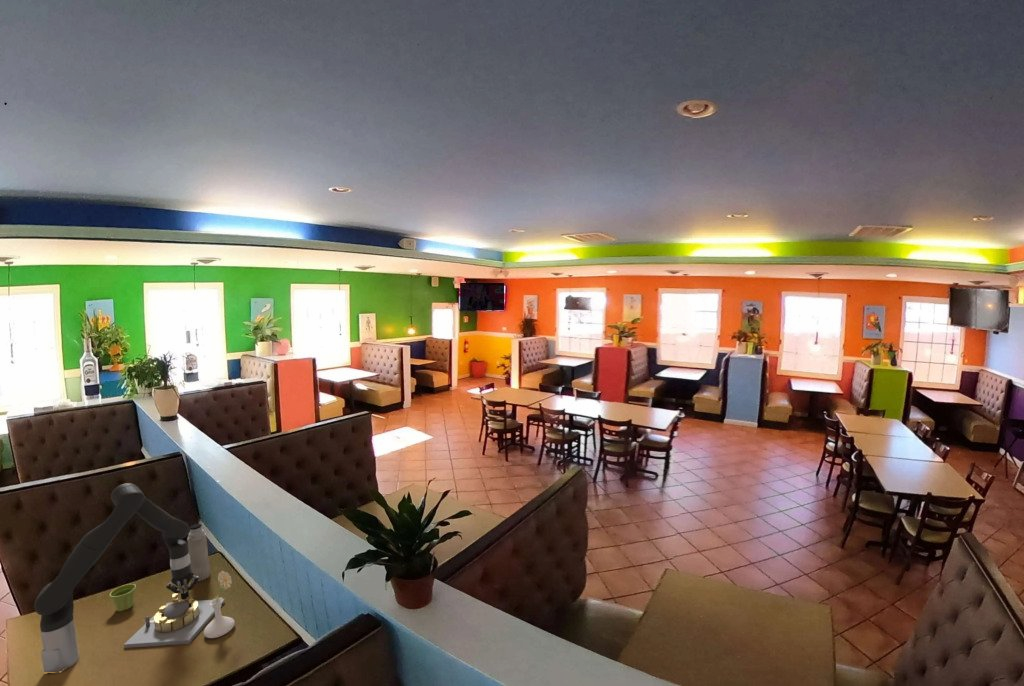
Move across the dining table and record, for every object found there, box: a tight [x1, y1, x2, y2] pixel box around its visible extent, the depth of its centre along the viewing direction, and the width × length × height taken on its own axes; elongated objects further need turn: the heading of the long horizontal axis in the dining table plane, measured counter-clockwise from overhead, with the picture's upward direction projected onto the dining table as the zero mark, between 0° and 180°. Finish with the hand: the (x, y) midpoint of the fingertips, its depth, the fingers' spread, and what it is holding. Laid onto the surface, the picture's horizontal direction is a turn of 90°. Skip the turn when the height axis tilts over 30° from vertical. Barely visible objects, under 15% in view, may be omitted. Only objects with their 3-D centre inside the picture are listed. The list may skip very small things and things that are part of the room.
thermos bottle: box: [186, 523, 211, 582], centre depth 236 cm, size 8×8×28 cm
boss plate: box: [123, 598, 226, 649], centre depth 203 cm, size 26×26×8 cm
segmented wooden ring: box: [153, 592, 199, 632], centre depth 205 cm, size 22×16×5 cm
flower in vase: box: [203, 570, 236, 639], centre depth 197 cm, size 13×11×25 cm
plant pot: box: [109, 583, 137, 612], centre depth 215 cm, size 9×9×9 cm
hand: (185, 599), depth 214 cm, fingers closed
